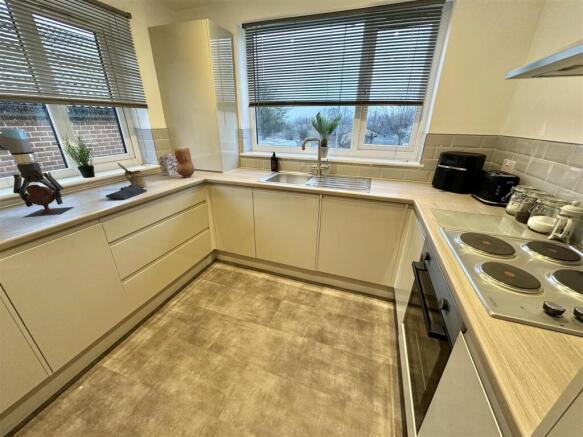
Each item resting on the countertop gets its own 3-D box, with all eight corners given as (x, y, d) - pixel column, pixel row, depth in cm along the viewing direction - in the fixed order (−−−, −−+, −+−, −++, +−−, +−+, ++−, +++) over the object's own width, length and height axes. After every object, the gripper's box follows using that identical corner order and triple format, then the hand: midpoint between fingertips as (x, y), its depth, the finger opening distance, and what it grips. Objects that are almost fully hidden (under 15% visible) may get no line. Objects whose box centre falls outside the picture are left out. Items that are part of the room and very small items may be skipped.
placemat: (19, 219, 116) (19, 218, 116) (41, 209, 129) (41, 209, 129) (57, 216, 119) (57, 215, 119) (74, 207, 132) (74, 206, 132)
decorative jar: (169, 176, 203) (164, 154, 197) (161, 175, 209) (156, 153, 202) (181, 173, 213) (177, 153, 206) (174, 172, 219) (170, 152, 212)
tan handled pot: (125, 187, 171) (117, 161, 164) (146, 184, 177) (140, 160, 170) (124, 190, 164) (116, 163, 157) (146, 187, 170) (140, 161, 163)
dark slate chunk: (101, 199, 143) (99, 192, 142) (129, 190, 164) (127, 183, 162) (124, 200, 141) (122, 192, 140) (149, 190, 162) (148, 183, 160)
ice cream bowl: (49, 215, 119) (36, 186, 113) (27, 216, 119) (13, 187, 114) (68, 208, 129) (57, 181, 123) (48, 209, 129) (36, 181, 123)
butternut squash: (175, 177, 198) (168, 146, 188) (189, 174, 208) (184, 144, 199) (185, 179, 190) (178, 147, 181) (199, 176, 201) (194, 145, 191)
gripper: (62, 160, 120) (77, 200, 128) (3, 163, 116) (23, 204, 124) (51, 162, 113) (68, 205, 121) (-12, 165, 109) (10, 209, 117)
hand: (45, 205), depth 123 cm, fingers open, 13 cm apart
